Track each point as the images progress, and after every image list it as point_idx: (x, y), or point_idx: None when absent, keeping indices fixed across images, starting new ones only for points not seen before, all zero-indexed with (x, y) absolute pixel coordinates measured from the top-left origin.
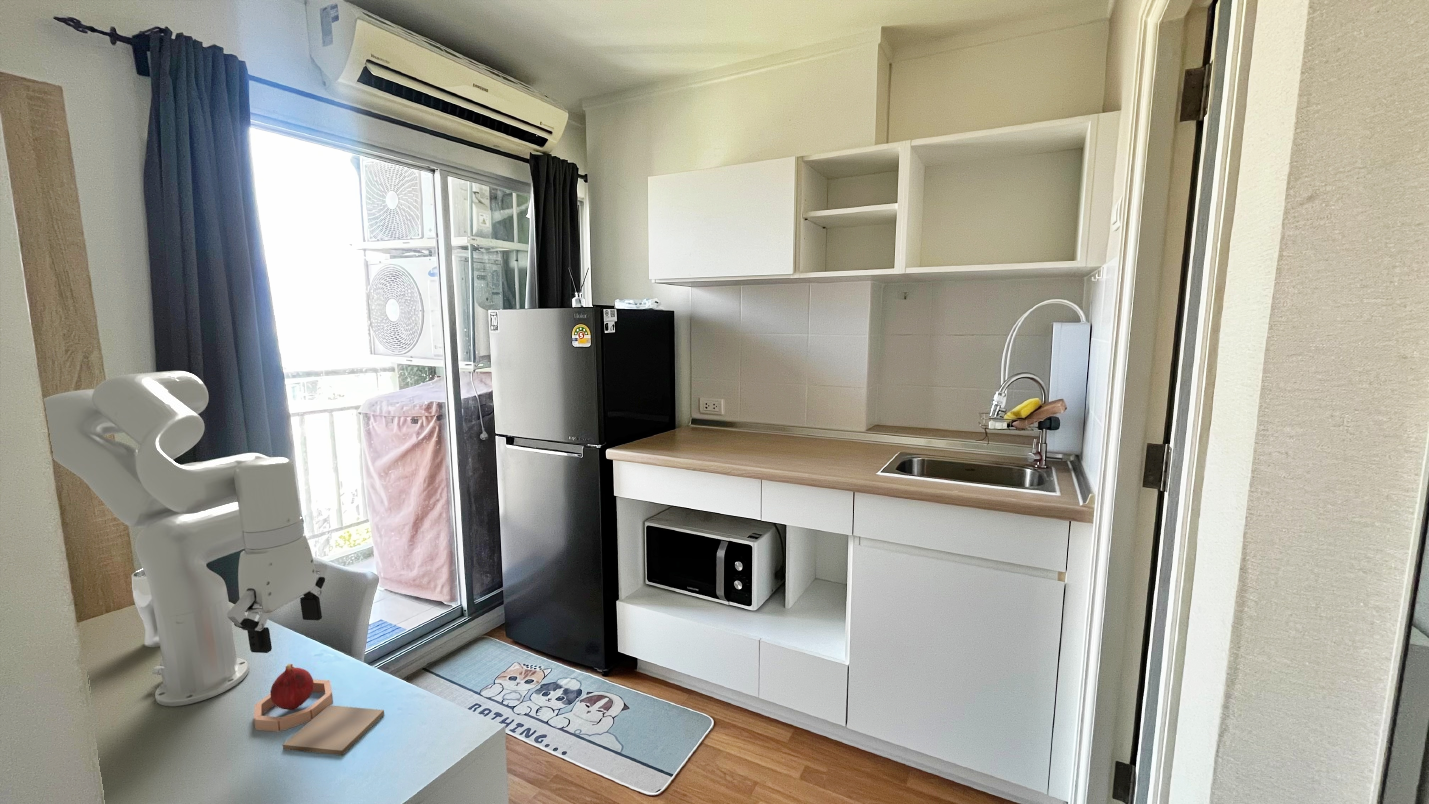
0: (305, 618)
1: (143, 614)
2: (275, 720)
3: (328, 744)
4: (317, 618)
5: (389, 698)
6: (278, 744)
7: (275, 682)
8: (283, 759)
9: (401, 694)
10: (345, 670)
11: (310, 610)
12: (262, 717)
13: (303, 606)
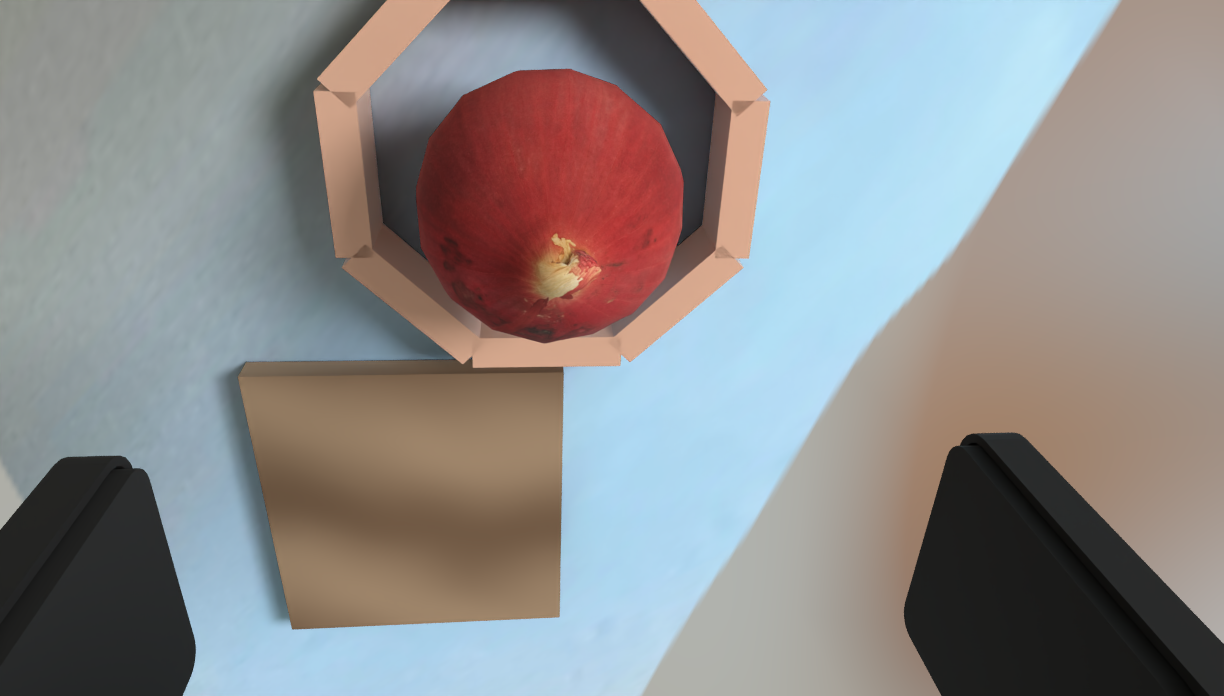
0: (949, 491)
1: None
2: (341, 239)
3: (306, 562)
4: (911, 637)
5: (668, 553)
6: (269, 309)
7: (463, 186)
8: (195, 414)
9: (699, 580)
10: (934, 176)
11: (994, 661)
12: (343, 128)
13: (1070, 624)
